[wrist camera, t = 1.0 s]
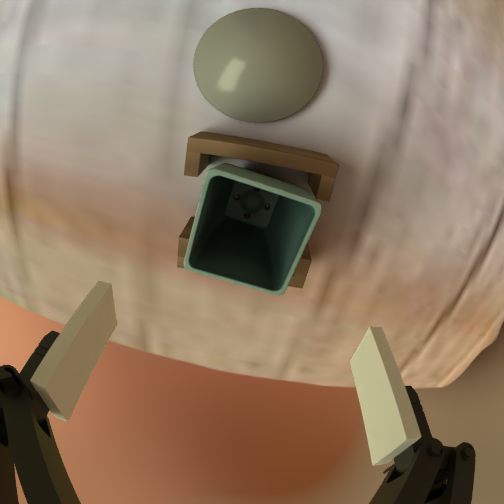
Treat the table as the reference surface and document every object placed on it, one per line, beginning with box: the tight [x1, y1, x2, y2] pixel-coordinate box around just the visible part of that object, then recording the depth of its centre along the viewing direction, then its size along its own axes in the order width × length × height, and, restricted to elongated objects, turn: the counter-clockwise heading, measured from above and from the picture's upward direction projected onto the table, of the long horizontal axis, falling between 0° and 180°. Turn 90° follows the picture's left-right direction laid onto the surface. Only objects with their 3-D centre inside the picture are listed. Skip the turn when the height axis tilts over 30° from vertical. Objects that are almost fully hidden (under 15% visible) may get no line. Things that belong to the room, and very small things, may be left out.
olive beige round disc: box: [193, 8, 323, 123], centre depth 22 cm, size 12×12×1 cm
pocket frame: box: [177, 132, 339, 288], centre depth 27 cm, size 13×13×5 cm
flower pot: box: [184, 163, 322, 295], centre depth 26 cm, size 9×9×9 cm
